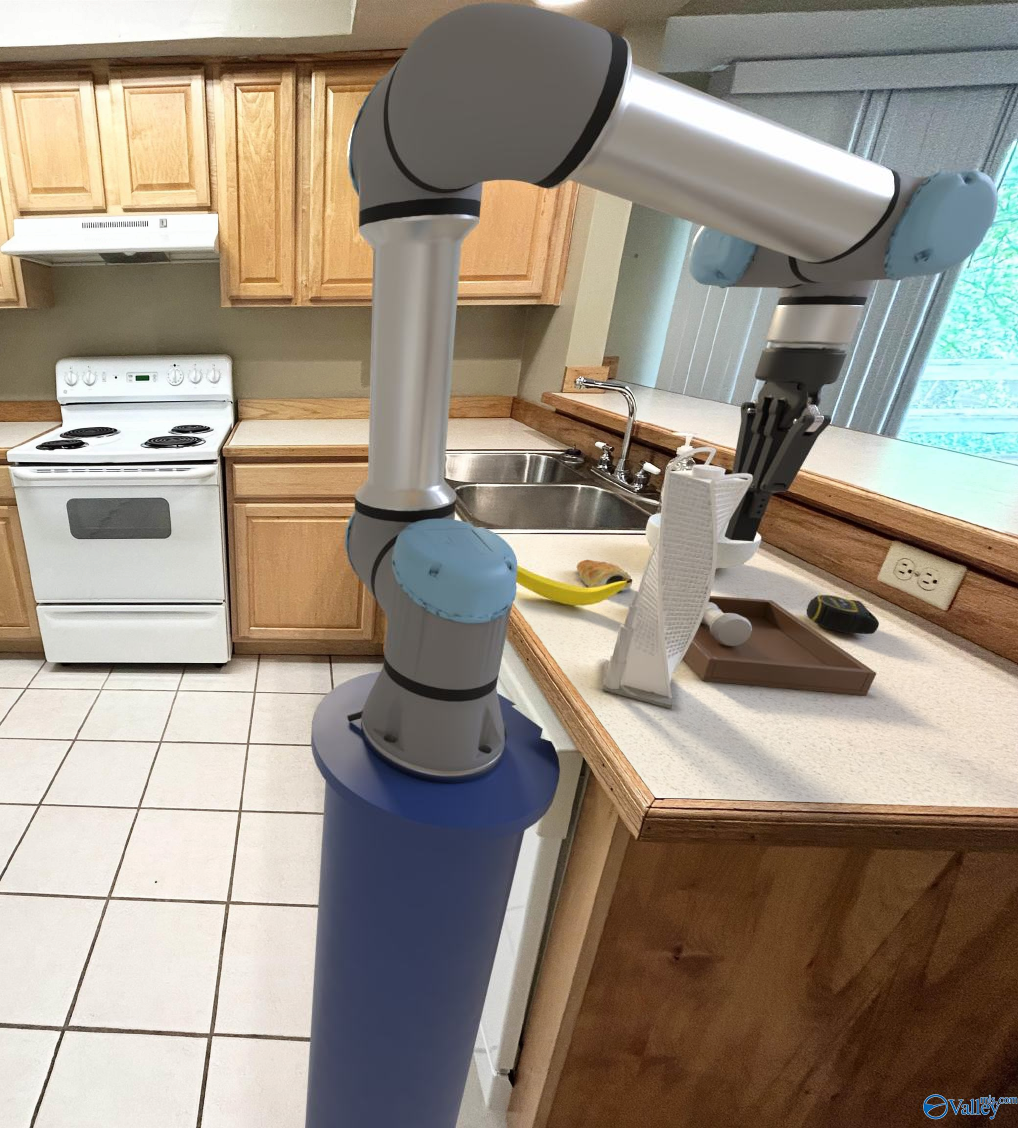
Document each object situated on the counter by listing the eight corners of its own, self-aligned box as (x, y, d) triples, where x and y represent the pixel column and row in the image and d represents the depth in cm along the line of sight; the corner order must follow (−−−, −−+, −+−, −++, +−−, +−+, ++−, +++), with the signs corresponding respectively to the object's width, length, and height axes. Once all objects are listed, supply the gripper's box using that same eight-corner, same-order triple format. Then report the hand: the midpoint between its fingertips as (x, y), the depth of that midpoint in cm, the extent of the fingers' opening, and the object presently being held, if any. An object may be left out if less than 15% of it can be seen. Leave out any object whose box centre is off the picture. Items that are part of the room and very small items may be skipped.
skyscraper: (605, 657, 77) (663, 441, 66) (679, 676, 73) (753, 449, 62) (601, 689, 70) (665, 454, 59) (683, 711, 66) (766, 464, 55)
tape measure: (873, 643, 81) (884, 618, 79) (809, 631, 84) (819, 607, 82) (856, 622, 86) (867, 599, 85) (797, 611, 89) (806, 589, 88)
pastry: (564, 571, 103) (569, 550, 102) (601, 570, 104) (606, 550, 102) (594, 594, 95) (600, 572, 93) (635, 593, 95) (641, 572, 93)
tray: (702, 680, 72) (709, 658, 71) (636, 609, 90) (641, 590, 89) (866, 695, 69) (877, 673, 68) (764, 618, 87) (771, 600, 86)
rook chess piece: (736, 610, 76) (703, 589, 84) (707, 634, 78) (677, 612, 85) (762, 630, 77) (727, 608, 84) (733, 654, 78) (701, 630, 86)
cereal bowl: (754, 589, 97) (769, 549, 94) (637, 568, 105) (647, 530, 102) (743, 557, 110) (756, 521, 107) (640, 540, 118) (649, 506, 115)
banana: (495, 582, 99) (501, 547, 96) (623, 615, 88) (634, 576, 85) (489, 588, 96) (495, 552, 94) (620, 622, 86) (631, 582, 83)
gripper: (887, 349, 62) (804, 559, 71) (803, 345, 73) (741, 525, 82) (807, 347, 63) (735, 554, 72) (737, 343, 75) (683, 521, 84)
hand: (738, 538), depth 77 cm, fingers closed
